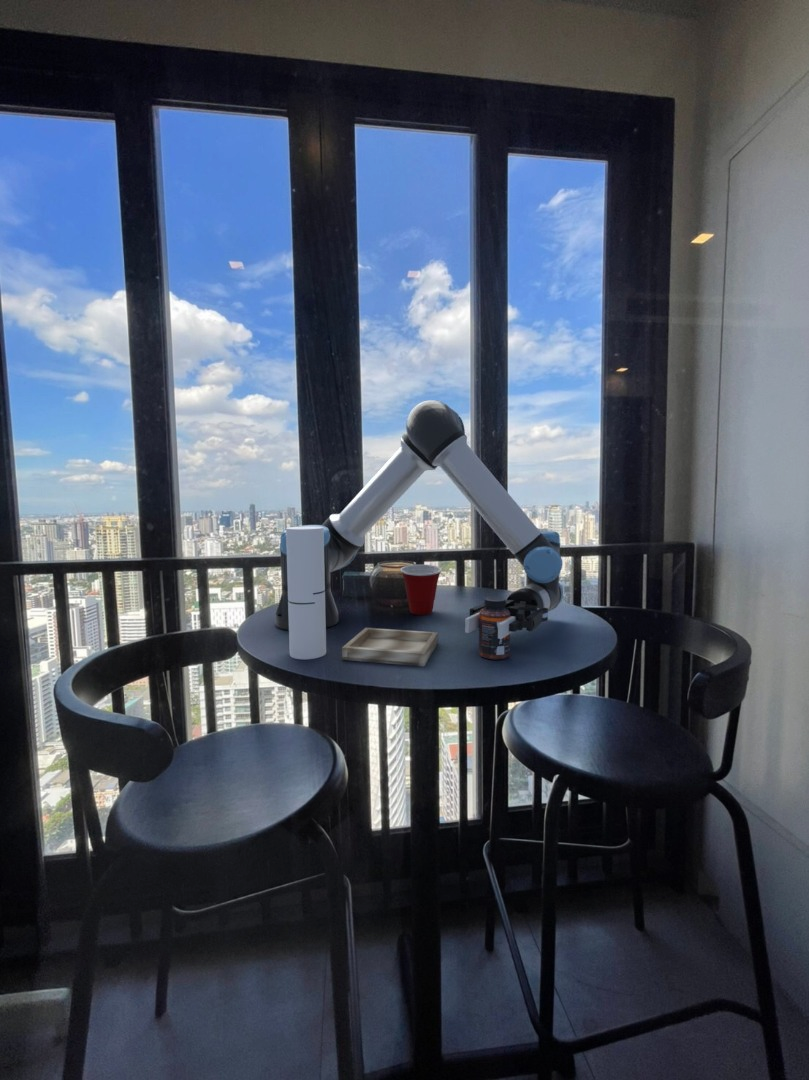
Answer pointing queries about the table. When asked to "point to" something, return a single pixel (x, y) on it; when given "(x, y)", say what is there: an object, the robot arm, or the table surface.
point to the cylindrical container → (306, 592)
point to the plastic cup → (421, 587)
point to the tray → (391, 646)
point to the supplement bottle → (493, 629)
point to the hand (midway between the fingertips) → (483, 628)
